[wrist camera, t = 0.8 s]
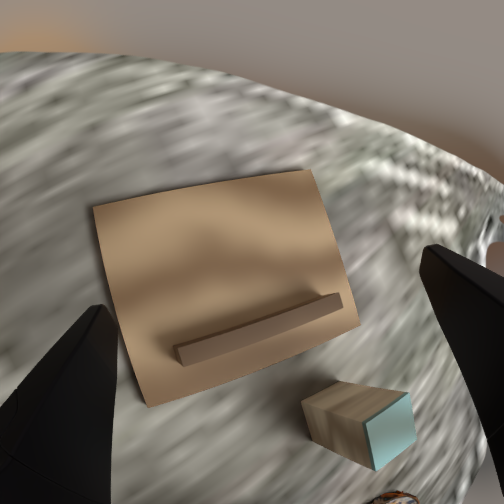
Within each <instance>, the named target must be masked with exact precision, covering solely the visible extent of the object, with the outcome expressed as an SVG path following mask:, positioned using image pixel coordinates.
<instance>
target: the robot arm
mask: <svg viewBox="0 0 504 504" xmlns="http://www.w3.org/2000/svg"><path fill="white" fill-rule="evenodd" d="M419 273H420V277H421V280H422V282H423V285H424V287H425V290H426V292H427V295H428V297H429V300H430V302H431V305H432V308H433V310H434V313H435V315H436V318H437V320H438V322H439V325H440V327H441V329H442V331H443V333H444V335H445V337H446V339H447V341H448V343H449V346H450V348H451V350H452V352H453V354H454V357H455V359H456V361H457V363H458V366H459V368H460V370H461V373H462V375H463V377H464V380H465V382H466V385H467V387H468V390H469V392H470V395H471V397H472V400H473V402H474V405H475V407H476V410H477V413H478V416H479V418H480V421H481V424H482V427H483V430H484V433H485V436H486V438H487V442H488V445H489V448H490V452H491V455H492V458H493V461H494V465H495V468H496V472H497V475H498V479H499V483H500V487H501V490H502V494H503V497H504V277H502V276H500V275H498V274H496V273H495V272H492V271H491V270H489V269H487V268H485V267H483V266H481V265H479V264H477V263H475V262H473V261H471V260H469V259H467V258H465V257H463V256H461V255H459V254H457V253H455V252H453V251H451V250H449V249H447V248H445V247H443V246H441V245H439V244H432V245H428V246H425V247H424V249H423V253H422V258H421V263H420V268H419ZM117 349H118V328H117V325H116V322H115V321H114V319H113V317H112V316H111V314H110V312H109V311H108V309H107V307H106V306H105V305H103V304H99V305H92V306H90V307H89V308H88V309H87V310H86V311H85V312H84V313H83V314H82V315H81V316H80V317H79V319H78V320H77V321H76V322H75V323H74V324H73V325H72V326H71V327H70V328H69V329H68V330H67V331H66V332H65V333H64V335H63V336H62V337H61V338H60V339H59V340H58V341H57V342H56V343H55V344H54V346H53V347H52V348H51V349H50V350H49V351H48V352H47V353H46V354H45V356H44V357H43V358H42V359H41V360H40V361H39V362H38V363H37V365H36V366H35V367H34V368H33V369H32V370H31V372H30V373H29V374H28V375H27V376H26V377H25V378H24V380H23V381H22V382H21V383H20V384H19V386H18V387H17V389H15V390H14V391H13V393H12V394H11V395H10V396H9V398H8V399H7V400H6V401H5V402H4V403H3V405H2V406H1V407H0V504H111V453H112V433H113V418H114V406H115V395H116V384H117Z"/></svg>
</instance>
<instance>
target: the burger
mask: <svg viewBox="0 0 504 504" xmlns="http://www.w3.org/2000/svg"><path fill="white" fill-rule="evenodd" d="M380 496H381V497H378V498H375V500H374V502H373V503H372V504H420V503H419V500H418V498H417V497H416V496H413V495H411V494H409V493H403V491H402V492H400V491H397V493H386V494H383V495H380Z"/></svg>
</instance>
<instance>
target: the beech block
mask: <svg viewBox="0 0 504 504" xmlns="http://www.w3.org/2000/svg"><path fill="white" fill-rule="evenodd" d="M301 405H302V408H303V411H304V415H305V418H306V421H307V425H308V428H309V431H310V434H311V438H312V441H313V442H315V443H317V444H319V445H321V446H323V447H325V448H327V449H329V450H331V451H333V452H335V453H337V454H339V455H341V456H343V457H345V458H347V459H350V460H352V461H354V462H356V463H358V464H360V465H363V466H365V467H367V468H369V469H372V470H374V471H377V470H379V469H380V468H381V467H383V466H384V465H385V464H387V463H388V462H389V461H391V460H392V459H393V458H395V457H396V456H397V455H398V454H400V453H401V452H402V451H403V450H405V449H406V448H407V447H408V446H410V445H411V444H412V443H413V442H414V441H415V440H417V437H416V430H415V423H414V417H413V411H412V405H411V399H410V394H409V393H408V392H401V391H394V390H388V389H381V388H375V387H369V386H364V385H358V384H353V383H347V382H342V381H339V382H337V383H335V384H333V385H331V386H330V387H328V388H326V389H324V390H322V391H320V392H318V393H316V394H314V395H312V396H310V397H308V398H306V399H304V400H302V401H301Z"/></svg>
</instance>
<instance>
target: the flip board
mask: <svg viewBox="0 0 504 504" xmlns="http://www.w3.org/2000/svg"><path fill="white" fill-rule="evenodd" d="M93 211H94V217H95V223H96V228H97V233H98V238H99V243H100V248H101V253H102V258H103V262H104V267H105V271H106V275H107V279H108V284H109V288H110V292H111V295H112V299H113V303H114V307H115V310H116V314H117V318H118V321H119V325H120V328H121V331H122V335H123V338H124V341H125V344H126V348H127V351H128V354H129V357H130V360H131V363H132V366H133V369H134V372H135V375H136V378H137V380H138V383H139V386H140V389H141V391H142V394H143V397H144V399H145V402H146V405H147V407H148V408H150V407H154V406H157V405H160V404H164V403H167V402H170V401H173V400H176V399H180V398H183V397H186V396H189V395H192V394H195V393H198V392H201V391H204V390H207V389H210V388H212V387H215V386H218V385H221V384H224V383H227V382H229V381H232V380H235V379H237V378H240V377H243V376H245V375H248V374H251V373H253V372H256V371H258V370H261V369H263V368H266V367H268V366H271V365H273V364H276V363H278V362H281V361H283V360H285V359H288V358H290V357H292V356H295V355H297V354H299V353H302V352H304V351H306V350H309V349H311V348H313V347H315V346H317V345H320V344H322V343H324V342H326V341H328V340H331V339H333V338H335V337H337V336H339V335H341V334H343V333H345V332H348V331H350V330H352V329H354V328H356V327H358V326H360V325H361V324H360V320H359V317H358V313H357V310H356V306H355V302H354V299H353V295H352V292H351V289H350V285H349V282H348V279H347V275H346V272H345V269H344V265H343V262H342V259H341V256H340V253H339V249H338V246H337V243H336V240H335V237H334V234H333V231H332V228H331V225H330V222H329V219H328V216H327V213H326V210H325V207H324V205H323V202H322V199H321V196H320V193H319V191H318V188H317V185H316V182H315V179H314V177H313V174H312V171H311V169H310V170H301V171H293V172H285V173H277V174H270V175H262V176H255V177H249V178H242V179H235V180H229V181H223V182H216V183H210V184H204V185H199V186H193V187H187V188H182V189H176V190H171V191H166V192H161V193H155V194H150V195H145V196H141V197H136V198H131V199H126V200H122V201H117V202H113V203H108V204H104V205H99V206H95V207H93Z"/></svg>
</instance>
